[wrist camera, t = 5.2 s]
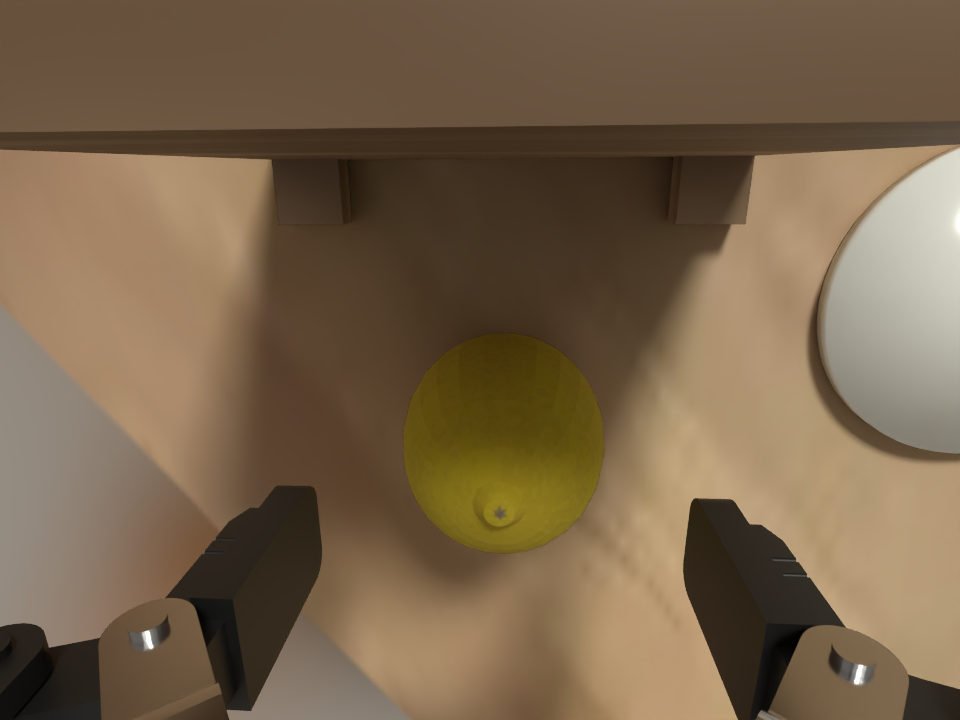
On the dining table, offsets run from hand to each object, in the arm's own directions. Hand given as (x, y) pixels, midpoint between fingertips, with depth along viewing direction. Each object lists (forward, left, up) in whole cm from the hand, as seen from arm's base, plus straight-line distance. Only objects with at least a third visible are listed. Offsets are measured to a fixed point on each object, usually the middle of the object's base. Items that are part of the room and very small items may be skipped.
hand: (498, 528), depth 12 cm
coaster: (-3, +15, -8) cm, 17 cm away
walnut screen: (-8, 0, -8) cm, 12 cm away
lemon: (0, 0, -8) cm, 8 cm away
